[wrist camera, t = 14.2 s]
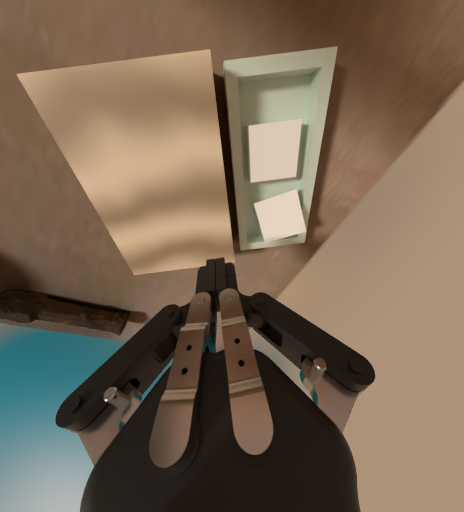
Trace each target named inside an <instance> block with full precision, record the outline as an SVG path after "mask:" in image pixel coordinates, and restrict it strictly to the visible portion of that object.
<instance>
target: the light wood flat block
mask: <svg viewBox="0 0 464 512" xmlns="http://www.w3.org/2000/svg"><path fill="white" fill-rule="evenodd" d="M17 76H18V78H19V79H20V81H21V83H22V85H23V86H24V88H25V90H26V91H27V93H28V95H29V97H30V98H31V100H32V102H33V103H34V105H35V107H36V108H37V110H38V112H39V114H40V115H41V117H42V119H43V120H44V122H45V124H46V125H47V127H48V129H49V131H50V132H51V134H52V136H53V137H54V139H55V141H56V143H57V144H58V146H59V148H60V149H61V151H62V153H63V154H64V156H65V158H66V160H67V161H68V163H69V165H70V166H71V168H72V170H73V172H74V173H75V175H76V177H77V178H78V180H79V182H80V183H81V185H82V187H83V189H84V190H85V192H86V194H87V195H88V197H89V199H90V201H91V202H92V204H93V206H94V207H95V209H96V211H97V212H98V214H99V216H100V218H101V219H102V221H103V223H104V224H105V226H106V228H107V230H108V231H109V233H110V235H111V236H112V238H113V240H114V241H115V243H116V245H117V247H118V248H119V250H120V252H121V253H122V255H123V257H124V259H125V260H126V262H127V264H128V265H129V267H130V269H131V270H132V272H133V274H134V275H138V274H146V273H154V272H162V271H170V270H178V269H186V268H194V267H201V266H206V260H207V259H216V258H221V257H224V258H225V263H229V262H231V263H234V262H235V258H234V250H233V241H232V233H231V224H230V216H229V207H228V198H227V190H226V181H225V173H224V164H223V156H222V147H221V139H220V130H219V122H218V113H217V105H216V96H215V88H214V79H213V71H212V62H211V54H210V49H209V50H201V51H193V52H186V53H178V54H170V55H162V56H154V57H146V58H139V59H131V60H123V61H115V62H107V63H100V64H92V65H84V66H76V67H68V68H61V69H53V70H45V71H37V72H29V73H21V74H17Z"/></svg>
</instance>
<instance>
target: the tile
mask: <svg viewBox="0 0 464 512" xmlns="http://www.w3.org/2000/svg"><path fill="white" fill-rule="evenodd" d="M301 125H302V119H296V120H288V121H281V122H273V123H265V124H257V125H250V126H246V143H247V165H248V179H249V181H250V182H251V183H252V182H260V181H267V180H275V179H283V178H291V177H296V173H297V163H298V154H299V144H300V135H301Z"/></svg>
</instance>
